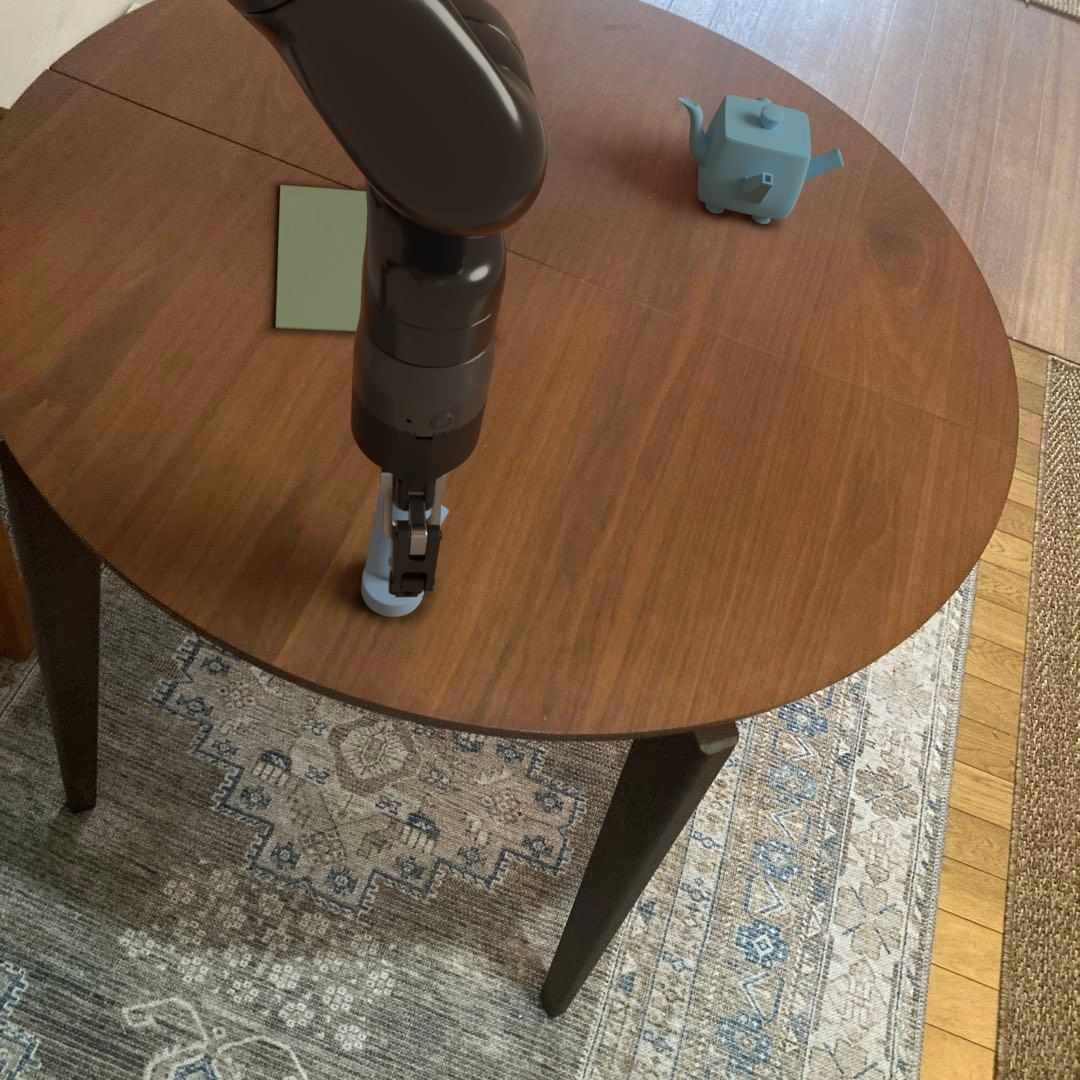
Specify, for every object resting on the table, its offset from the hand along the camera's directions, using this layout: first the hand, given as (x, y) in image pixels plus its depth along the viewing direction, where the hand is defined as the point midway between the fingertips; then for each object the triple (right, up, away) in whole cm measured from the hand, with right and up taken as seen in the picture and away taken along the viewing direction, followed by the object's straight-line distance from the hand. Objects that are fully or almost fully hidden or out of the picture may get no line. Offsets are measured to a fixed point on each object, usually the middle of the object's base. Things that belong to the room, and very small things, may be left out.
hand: (402, 536), depth 70 cm
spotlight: (-1, -4, +6) cm, 7 cm away
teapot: (+30, +35, +38) cm, 59 cm away
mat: (-5, +25, +23) cm, 35 cm away
